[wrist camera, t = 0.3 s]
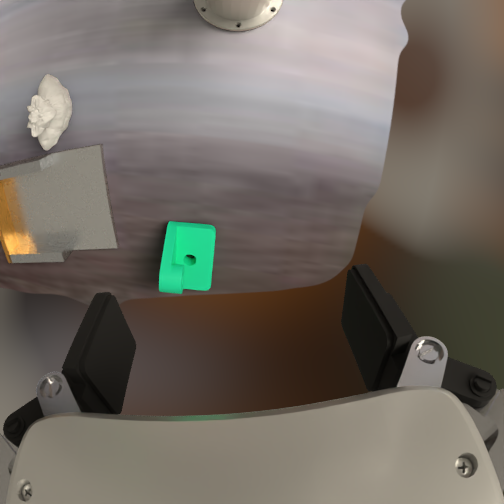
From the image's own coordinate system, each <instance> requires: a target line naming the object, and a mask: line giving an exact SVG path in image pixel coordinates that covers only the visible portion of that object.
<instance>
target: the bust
mask: <svg viewBox="0 0 504 504" xmlns="http://www.w3.org/2000/svg"><path fill="white" fill-rule="evenodd" d="M27 109H28V111H29V113H30V115H29V116H28V119H29V120H30V121H29V122H28V126H27V128H31V132H32V136H33V137H37V136H38V140H39V143H40V144H41V146H42V147H43V149H44V150H49V149H50V148H51V147H52V146H53V145H55V144H56V143H57V142H58V139H59V137H60V136H61V134H62V133H63V131H64V130H66V129H67V127H68V124H69V119H70V118H71V114H72V101H71V99H70V95H69V92H68V90H67V89H66V88H64V87H63V86H62V85H61V83H60V82H59V80H58V79H57V78H56V77H53V76H52V75H49V74H48V75H46V76H44V78H43V80H42V81H41V83H40V85H39V88H38V96H37V95H34V96H33V97H32V100H31V105H30V106H28V107H27Z"/></svg>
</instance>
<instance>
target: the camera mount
mask: <svg viewBox="0 0 504 504" xmlns="http://www.w3.org/2000/svg"><path fill="white" fill-rule="evenodd" d="M215 235H216V229H215V227H214V226H212V225H207V224H196V223H185V222H173V221H169V223H168V226H167V231H166V237H165V243H164V249H163V255H162V261H161V267H160V274H159V290H160V292H168V293H178V294H182V291H183V289H194V290H208V289H210V287H211V277H212V266H213V256H214V245H215ZM189 254H190V255H193V256H195V257H194V258H189V257H187V256H186V255H189Z"/></svg>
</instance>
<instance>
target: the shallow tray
mask: <svg viewBox="0 0 504 504" xmlns="http://www.w3.org/2000/svg"><path fill="white" fill-rule="evenodd" d="M0 240H1V243H2V246H3V249H4V252H5V254H6V257H7V260H8V262H9V263H30V262H64V261H65V260H66V259H67V257H68V256H69V255H70V253H71V252H72V251H73V250H84V249H108V248H118V247H119V242H118V237H117V232H116V227H115V222H114V217H113V212H112V206H111V201H110V195H109V189H108V182H107V176H106V169H105V161H104V153H103V144H98V145H92V146H86V147H80V148H74V149H69V150H64V151H59V152H54V153H49V154H45V155H40V156H36V157H32V158H27V159H23V160H19V161H15V162H12V163H8V164H4V165H1V166H0Z"/></svg>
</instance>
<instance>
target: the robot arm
mask: <svg viewBox="0 0 504 504" xmlns="http://www.w3.org/2000/svg"><path fill="white" fill-rule="evenodd" d="M282 3H283V0H194V4H195V7H196V9H197V11H198V13H199V14H200V15H201V16H202V18H204V19H205V20H206V21H207V22H208V23H210V24H212V25H214V26H215V27H218V28H221V29H225V30H230V31H245V30H251V29H255V28H258V27H260V26H262V25H264V24H266V23H267V22H269V21H270V20H271V19H272V18H273V17H274V16H275V15H276V14H277V13H278V11H279V10H280V8H281V6H282ZM203 10H206V11H205V12H202V11H203ZM271 10H274V12H271ZM236 25H240V27H236ZM341 322H342V327H343V330H344V332H345V335H346V337H347V339H348V342H349V345H350V347H351V349H352V352H353V354H354V357H355V359H356V362H357V364H358V367H359V370H360V372H361V375H362V377H363V380H364V382H365V385H366V388H367V389H368V391H372V392H369V393H365V394H361V395H356V396H351V397H346V398H341V399H336V400H331V401H326V402H321V403H315V404H309V405H303V406H296V407H290V408H282V409H275V410H267V411H257V412H248V413H236V414H222V415H203V416H137V415H118V414H120V413H121V411H122V406H123V401H124V397H125V392H126V388H127V383H128V379H129V374H130V370H131V366H132V362H133V358H134V354H135V350H136V343H135V340H134V338H133V335H132V333H131V331H130V329H129V327H128V325H127V323H126V320H125V319H124V316H123V314H122V311H121V309H120V307H119V304H118V302H117V300H116V298H115V296H113V295H111V293H109V292H105V293H97V294H96V295H95V296H94V298H93V300H92V302H91V304H90V306H89V308H88V310H87V313H86V314H85V317H84V319H83V321H82V323H81V325H80V328H79V329H78V332H77V334H76V336H75V338H74V341H73V343H72V346H71V347H70V350H69V352H68V354H67V357H66V359H65V362H64V364H63V367H62V368H63V370H62V373H59V372H51V373H49V374H46V375H45V376H44V377H42V379H41V380H40V381H39V383H38V385H37V389H36V392H37V397H36V398H34V399H33V400H31V401H30V402H28V403H27V404H25V405H24V406H22V407H21V408H20V409H18V410H17V411H15V412H14V413H12V414H11V415H10V416H8V418H7V419H6V421H5V423H4V427H3V431H4V435H3V436H2V435H1V434H0V504H504V497H503V494H502V491H503V490H504V390H503V389H501V390H500V391H499V390H497V389H496V382H495V380H494V378H493V377H492V376H491V375H490V374H489V373H488V372H486V371H484V370H481V369H478V368H476V367H473V366H470V365H467V364H465V363H462V362H460V361H457V360H454V359H451V358H449V357H448V354H447V353H448V352H447V349H446V347H445V345H444V344H443V343H442V342H441V341H439V340H438V339H436V338H433V337H428V336H426V337H420V338H418V337H417V335H416V333H415V332H414V330H413V328H412V327H411V325H410V324H409V322H408V320H407V319H406V317H405V316H404V314H403V312H402V311H401V309H400V308H399V306H398V305H397V303H396V302H395V300H394V299H393V297H392V296H391V295H390V294H389V293H386V292H385V290H384V289H383V287H382V285H381V284H380V282H379V281H378V279H377V278H376V276H375V275H374V273H373V272H372V270H371V269H370V268H369V266H368V265H367V264H361V265H354V266H352V269H351V270H348V273H347V281H346V290H345V297H344V305H343V312H342V320H341Z"/></svg>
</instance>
